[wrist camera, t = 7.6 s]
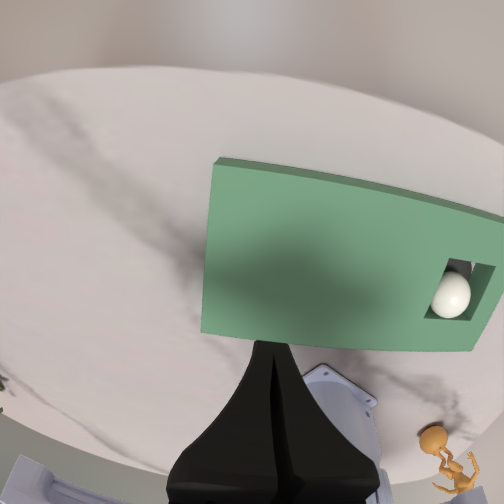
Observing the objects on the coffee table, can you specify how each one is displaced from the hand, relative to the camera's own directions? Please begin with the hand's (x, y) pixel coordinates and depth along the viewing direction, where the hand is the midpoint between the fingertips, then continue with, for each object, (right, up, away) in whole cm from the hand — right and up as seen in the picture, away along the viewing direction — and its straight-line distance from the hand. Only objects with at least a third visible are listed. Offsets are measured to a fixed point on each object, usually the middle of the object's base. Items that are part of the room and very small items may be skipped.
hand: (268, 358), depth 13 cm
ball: (+14, +1, +8) cm, 17 cm away
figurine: (+24, -19, +20) cm, 37 cm away
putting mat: (+8, +3, +10) cm, 13 cm away
